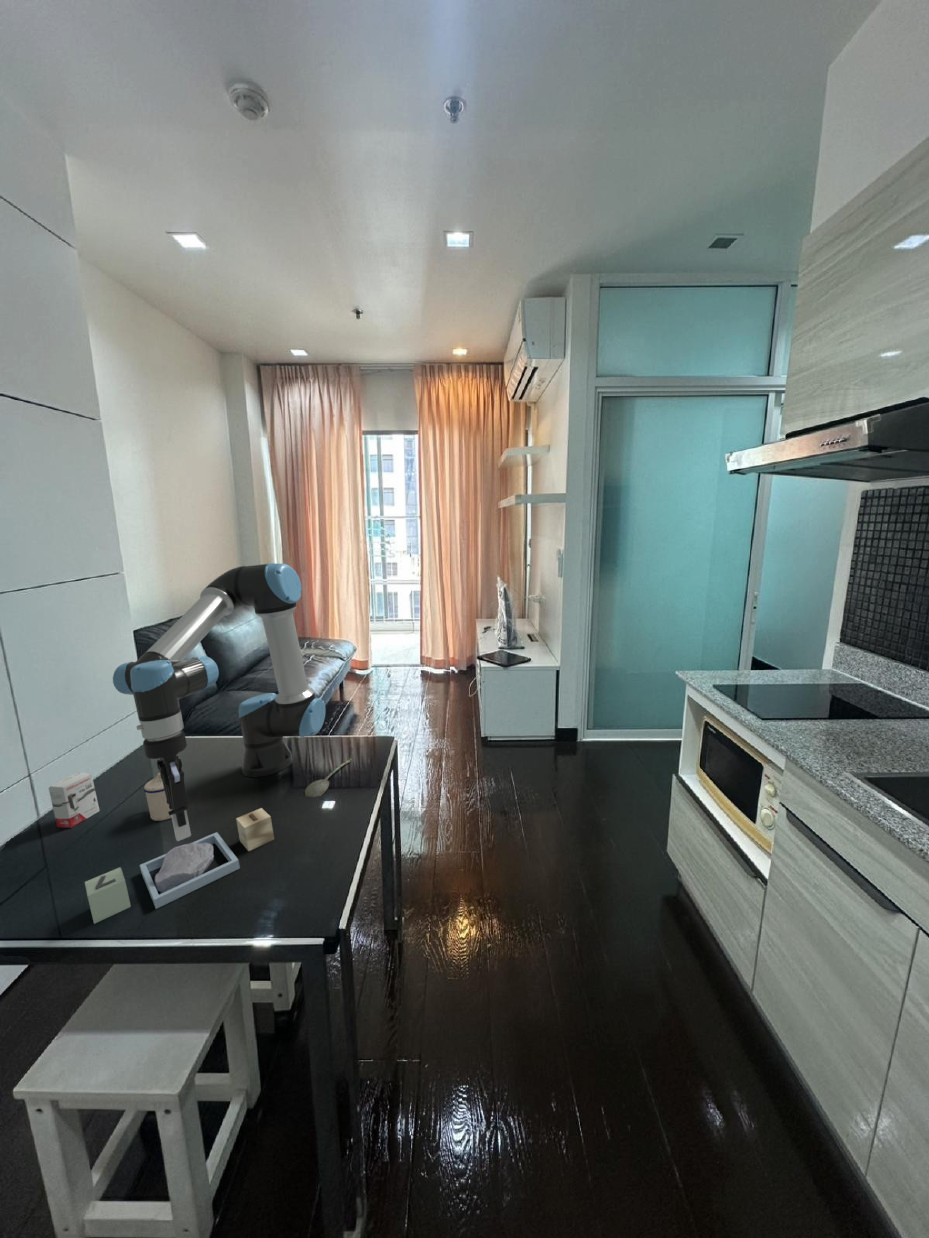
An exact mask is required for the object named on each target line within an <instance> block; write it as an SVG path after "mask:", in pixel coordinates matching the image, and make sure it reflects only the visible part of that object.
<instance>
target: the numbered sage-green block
mask: <svg viewBox="0 0 929 1238" xmlns="http://www.w3.org/2000/svg"><path fill="white" fill-rule="evenodd" d="M126 883H127V882H126V879H125V876H124V873H123V870H122V868H121V866H120V867H117V868H114V869H112V870H110V871H108V872H106V873H102V874H101V875H98V876H96V877H94V878H91V879H89V880H86V881H84V885H85V890H86V895H87V900H88V904H89V908H90V912H91V916H92V920H93V922H92V923H93V924H94V925H95V924H96V923H99V922H101V921H103V920H105V919H107V918H109V917H112V916H114V915H116V914H119V913H120V912H122V911H125V910H127V909H129V908H130V907H132V906H131V901H130V896H129V892H128V891H129V890H128V887H127V884H126Z"/></svg>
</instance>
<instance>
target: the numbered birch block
mask: <svg viewBox="0 0 929 1238" xmlns="http://www.w3.org/2000/svg"><path fill="white" fill-rule="evenodd" d="M271 817H272V816H271V815H270V814H268V813H267V811H265V810H264V809H263V808H262V807H260V808H258V809H256V810H254V811H253V810H252V811H251V812H248V813H246V814H243V815H241V816H239V817H236V818H235V820H236V826H237V827H236V828H237V832H238V837H239V843H241V844H242V845H243V847H244V848H245V849H246V850H247V852H250V851H253V850H255V849H257V848H259V847H261V846H263V845H266V844H267V843H269V842H270V843H271V841H274V840H275V835H274V829H273V823H272V818H271Z"/></svg>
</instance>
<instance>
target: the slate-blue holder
mask: <svg viewBox="0 0 929 1238" xmlns="http://www.w3.org/2000/svg"><path fill="white" fill-rule="evenodd" d="M191 843H209V844H211V845H212V846H213V845H216V847H217V848H218V849H219V851H220V852H221V853H222V855H223V856H224V857H225V859H226V860H227V861H228V862H225V863H223V864H221V865H220V866H217V867H215V868H213V869H211V870H209V871H207V872H204V873H203V874H202V875H200V876H198V877H196V878H194V879H191V880H189V881H187V882H185V883H183V884H181V885H179V886H177V887H174V888H172V889H170V890H168V891H166V892H164V893H158V891H157V890H156V887H155V886H156V885H155V882H154V881H153V878H152V876H151V874H150V872H153V871H155V870H157V869H161V867H162V864H163V861H164V858H165V856H166V854H167V853H165V854H162V855H160V856H158V857H156V858H153V859H151V860H148V861H146V862H144V863H141V864H139V869H140V873H141V875H142V878H143V880H144V883H145V885H146V888H147V890H148V892H149V895H150V898H151V900H152V902H153V905H154V908H155V910H157V909H159V908H161V907H163V906H165V905H167V904H169V903H172V902H174V901H176V900H178V899H180V898H181V897H184V896H186V895H189V894H190V893H192V892H194V891H196V890H198V889H200V888H203V887H204V886H206V885H208V884H210V883H212V882H215V881H216V880H219V879H221V878H222V877H225V876H227V875H229V874H231V873H234V872H235V871H237V870H239V869H241V866H240V862H239V861H240V860H239V859H238V857H237V856H236V855H235V854H234V852H233V850H231V848H230V847H229V846H228V844H227V843H226V842H225V840H224V839H223V838H222V837H221V835H220V834H219V833H218V832H217V831H216V832H214V833H212V834H209V835H206V836H204V837H202V838H200V839H197V840H195V841H193V842H190V843H189V844H191Z"/></svg>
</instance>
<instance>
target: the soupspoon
mask: <svg viewBox="0 0 929 1238" xmlns="http://www.w3.org/2000/svg"><path fill="white" fill-rule="evenodd" d="M352 762H353V760H352V758H350V757H348V759H347V760H346V761H344V762H342V763H341V765H338V767H336V768H335V769H334V770H332V771H331V772H330V773H329V774H328V775H327V776H326V777H325V778H324V779H318V780H315V781H313V782H311V783H310V784H308V785H307V787H306V788H305V790H304V796H306V797H309V798H316V797H321V796H323V795H324V794H325V792H327V790H328V788H329V786H330V780H329V778H330V777H332V776H333V775H334V774H335V773H336V772H337V771H338V770H339V769H340V768H342V767H343V766H346V765H348V764H351V763H352Z"/></svg>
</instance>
